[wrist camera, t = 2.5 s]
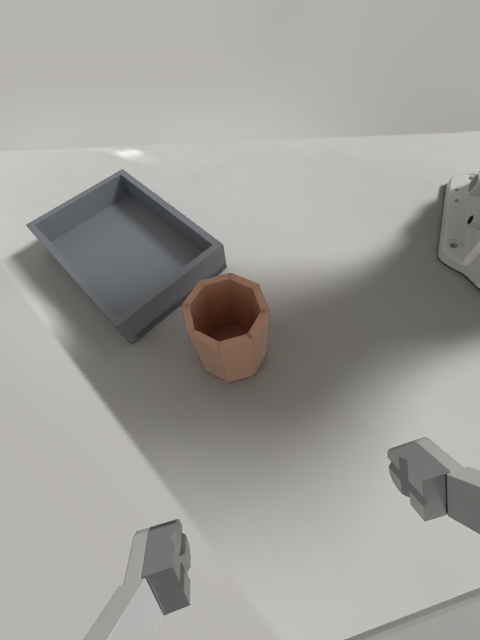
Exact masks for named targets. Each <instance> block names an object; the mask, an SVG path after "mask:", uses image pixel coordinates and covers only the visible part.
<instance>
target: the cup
mask: <svg viewBox="0 0 480 640" xmlns="http://www.w3.org/2000/svg"><path fill="white" fill-rule="evenodd" d="M181 307H182V311H183V316H184V321H185V325H186V330H187V334H188V336H189V338H190V340H191V342H192V344H193V346H194V348H195V350H196V352H197V354H198V356H199V358H200V360H201V362H202V364H203V366H204V368H205V370H206V371H208V372H209V373H211V374H213V375H215V376H217V377H219V378H220V379H222V380H224V381H226V382H228V383H230V382H233V381H237V380H240V379H244V378H247V377H250V376H254V375H255V373H256V372H257V370H258V368H259V366H260V364H261V362H262V361H263V359H264V357H265V355H266V353H267V339H268V325H269V309H268V306H267V304H266V301H265V299H264V296H263V293H262V291H261V288H260V286H259V284H257V283H254V282H252V281H250V280H247V279H245V278H242V277H240V276H238V275H235V274H233V273H227V274H223V275H219V276H216V277H212V278H208V279H204V280H200V281H199V282H198V283H197V285H196V286H195V287H194V289H193V290H192V291H191V293H190V294H189V295H188V297H187V298H186V300H185V301H184V302H183V304H182V305H181Z"/></svg>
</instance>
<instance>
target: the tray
mask: <svg viewBox="0 0 480 640" xmlns="http://www.w3.org/2000/svg"><path fill="white" fill-rule="evenodd" d="M26 226H27V227H28V228H29V229H30V230H31V232H32V233H33V234H34V235H35V236H36V237H37V238H38V239H39V241H40V242H41V243H42V244H43V245H44V246H45V247H46V249H47V250H48V251H49V252H50V253H51V254H52V255H53V257H54V258H55V259H56V260H57V261H58V262H59V263H60V265H61V266H62V267H63V268H64V269H65V270H66V271H67V272H68V274H69V275H70V276H71V277H72V278H73V279H74V280H75V282H76V283H77V284H78V285H79V286H80V287H81V288H82V290H83V291H84V292H85V293H86V294H87V295H88V296H89V298H90V299H91V300H92V301H93V302H94V303H95V304H96V306H97V307H98V308H99V309H100V310H101V311H102V312H103V313H104V315H105V316H106V317H107V318H108V319H109V320H110V321H111V323H112V324H113V325H114V326H115V327H116V328H117V329H118V330H119V331H120V332H121V333H122V334H123V335H124V336H125V337H126V338H127V339H128V340H129V341H130V342H131V343H132V344H133V343H134V342H135V341H137V340H138V339H139V338H140V337H141V336H143V335H144V334H145V333H146V332H148V331H149V330H150V329H151V328H153V327H154V326H155V325H156V324H158V323H159V322H160V321H161V320H162V319H164V318H165V317H166V316H167V315H169V314H170V313H171V312H172V311H174V310H175V309H176V308H177V307H179V306H180V305H181V304H182V303H183V302H184V301H185V300H186V298H187V297H188V295H189V294H190V293H191V291H192V290H193V289H194V287H195V286H196V285H197V283H198V282H199V281H200V280H204V279H208V278H212V277H216V276H217V275H218V274H219V273H221V272H222V271H223V270H224V269H226V268H227V267H226V260H225V254H224V247H223V244H222V243H221V242H219V241H218V240H217V239H215V238H214V237H212V236H211V235H210V234H208V233H207V232H206V231H204V230H203V229H202V228H200V227H199V226H198V225H196V224H195V223H194V222H192V221H191V220H190V219H188V218H187V217H186V216H184V215H183V214H182V213H180V212H179V211H178V210H176V209H175V208H174V207H172V206H171V205H170V204H168V203H167V202H166V201H164V200H163V199H162V198H160V197H159V196H158V195H156V194H155V193H154V192H152V191H151V190H150V189H148V188H147V187H146V186H144V185H143V184H142V183H140V182H139V181H138V180H136V179H135V178H134V177H132V176H131V175H129V174H128V173H127V172H125V171H124V170H123V169H122V170H120V171H118V172H117V173H115V174H113V175H111V176H110V177H108V178H106V179H105V180H103V181H101V182H99V183H98V184H96V185H94V186H92V187H91V188H89V189H87V190H86V191H84V192H82V193H80V194H79V195H77V196H75V197H73V198H72V199H70V200H68V201H67V202H65V203H63V204H61V205H60V206H58V207H56V208H54V209H53V210H51V211H49V212H48V213H46V214H44V215H42V216H41V217H39V218H37V219H35V220H34V221H32V222H30V223H28V224H27V225H26Z"/></svg>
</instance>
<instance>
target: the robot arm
mask: <svg viewBox="0 0 480 640" xmlns="http://www.w3.org/2000/svg"><path fill="white" fill-rule="evenodd" d="M438 257H439V259H440V260H441V261H442V262H443V263H445V264H446V265H448V266H450V267H452V268H453V269H455V270H457V271H459V272H461V273H463V274H464V275H465V276H467V277H468V278H469V279H470V280H471V281H472V282H473V283H474V284H475V285H476V286H477V287H478V288H479V289H480V171H479V172H478V173H468V174H463V175H459V176H456V177H453V178H452V179H451V180H450V181H449V182H448V183H447V186H446V192H445V200H444V208H443V217H442V225H441V233H440V241H439V250H438ZM387 453H388V458H389V459H390V460H391V464H390V466H389V471H390V475H391V478H392V480H393V482H394V484H395V486H396V487H397V489H398V490H399V491H400V492H401V493H402V494H403V495H405V496H408V497H410V504H411V506H412V507H413V508H414V509H415V510H416V512H417V513H418V514H419V515H420V516H421V518H422V519H423V520H424V521H428V520H431V519H434V518H438V517H441V516H444V515H447V514H448V516H449V517H451V518H453V519H454V520H456V521H458V522H460V523H461V524H463V525H465V526H467V527H468V528H470V529H472V530H473V531H475V532H477V533H479V534H480V471H479V470H476V469H473V468H470V467H465V468H464V467H463V466H461V465H460V464H459V463H458V462H457V461H455V460H454V459H453V458H452V457H450V456H449V455H448V454H447V453H446V452H444V451H443V450H442V449H441V448H440V447H438V446H437V445H436V444H435V443H433V442H432V441H431V440H430V439H429V438H426V437H423V438H420V439H417V440H414V441H411V442H408V443H405V444H402V445H399V446H396V447H393V448H390V449H388V452H387ZM189 568H190V548H189V543H188V540H187V537H186V535H185V534H183V533H182V525H181V523H180V520H179V519H176V520H173V521H169V522H167V523H163V524H159V525H156V526H153V527H150V528H147V529H143V530H140V531H137V532H136V533H135V535H134V537H133V542H132V547H131V552H130V556H129V561H128V566H127V571H126V575H125V580H124V585H122V586H119V587H118V589H117V590H116V592H115V593H114V595H113V596H112V598H111V599H110V601H109V602H108V604H107V605H106V607H105V608H104V610H103V611H102V613H101V614H100V616H99V617H98V619H97V620H96V622H95V623H94V625H93V627H92V628H91V629H90V631H89V632H88V634H87V635H86V637H85V638H84V640H155V638H156V636H157V634H158V631H159V629H160V626H161V624H162V622H163V620H164V615H166V614H169V613H171V612H174V611H176V610H179V609H181V608H184V607H186V606H189V605H190V579H189V577H188V575H187V572H188V570H189ZM345 640H480V588H478V589H476V590H473V591H470V592H468V593H465V594H463V595H460V596H457V597H455V598H452V599H450V600H447V601H444V602H442V603H439V604H437V605H434V606H431V607H429V608H426V609H423V610H421V611H418V612H416V613H413V614H410V615H408V616H405V617H403V618H400V619H397V620H395V621H392V622H389V623H387V624H384V625H382V626H379V627H376V628H374V629H371V630H369V631H366V632H363V633H361V634H358V635H356V636H353V637H350V638H348V639H345Z"/></svg>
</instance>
